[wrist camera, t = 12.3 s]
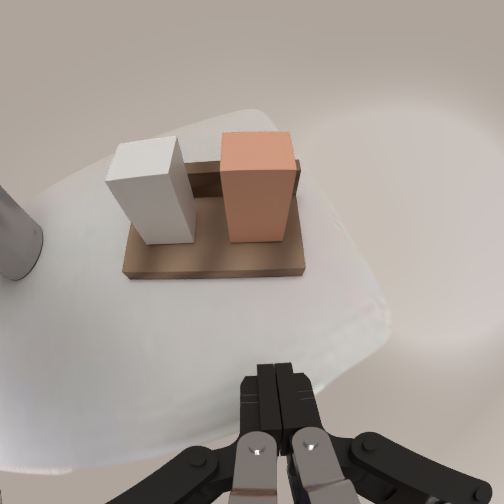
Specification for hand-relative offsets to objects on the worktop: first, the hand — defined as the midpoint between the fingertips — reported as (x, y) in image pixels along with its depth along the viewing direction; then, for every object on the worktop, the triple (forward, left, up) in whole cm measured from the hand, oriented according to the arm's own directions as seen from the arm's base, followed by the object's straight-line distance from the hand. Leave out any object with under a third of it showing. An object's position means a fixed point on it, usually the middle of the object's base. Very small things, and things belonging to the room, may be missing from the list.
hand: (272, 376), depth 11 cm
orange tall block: (0, +14, -10) cm, 18 cm away
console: (-5, +15, -13) cm, 20 cm away
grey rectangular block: (-9, +14, -10) cm, 20 cm away
